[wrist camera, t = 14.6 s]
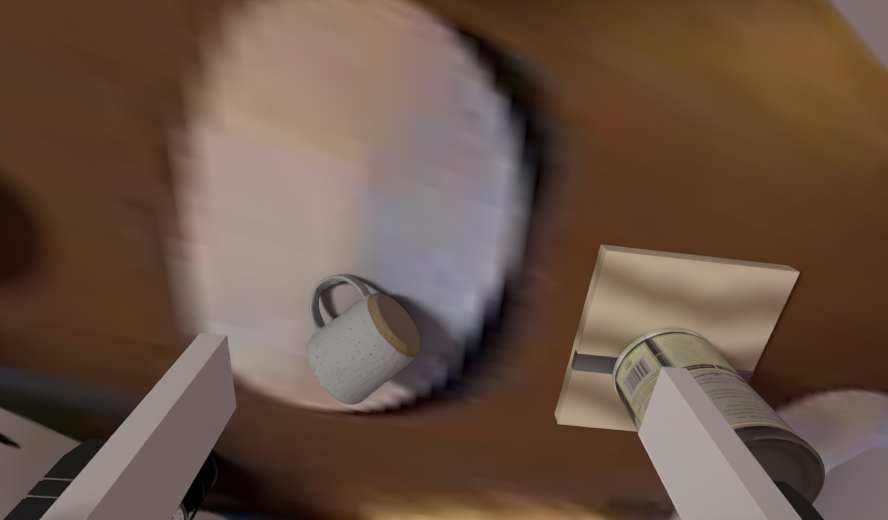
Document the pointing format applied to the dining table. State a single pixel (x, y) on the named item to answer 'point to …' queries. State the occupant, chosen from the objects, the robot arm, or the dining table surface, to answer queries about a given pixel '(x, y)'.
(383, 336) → the ceramic mug
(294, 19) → the dining table surface
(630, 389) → the coffee can
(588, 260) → the dining table surface
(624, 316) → the plywood board
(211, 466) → the french press
